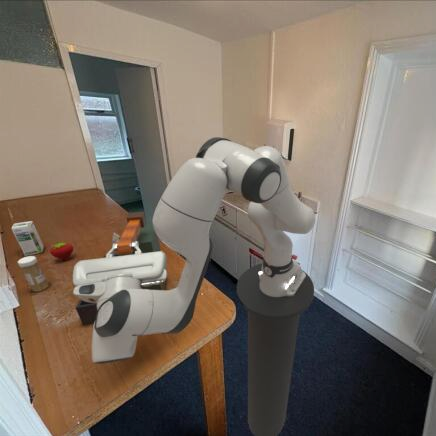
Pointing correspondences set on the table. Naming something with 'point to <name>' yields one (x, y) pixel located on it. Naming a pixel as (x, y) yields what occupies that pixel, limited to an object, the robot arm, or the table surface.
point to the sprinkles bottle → (33, 273)
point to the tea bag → (115, 239)
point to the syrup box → (27, 238)
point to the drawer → (88, 309)
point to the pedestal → (149, 249)
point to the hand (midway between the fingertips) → (126, 243)
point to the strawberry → (62, 250)
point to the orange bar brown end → (131, 232)
